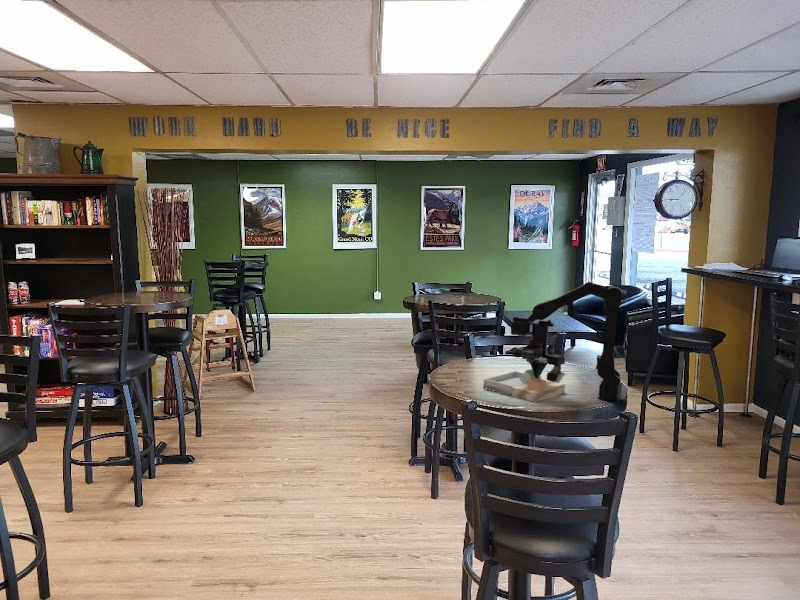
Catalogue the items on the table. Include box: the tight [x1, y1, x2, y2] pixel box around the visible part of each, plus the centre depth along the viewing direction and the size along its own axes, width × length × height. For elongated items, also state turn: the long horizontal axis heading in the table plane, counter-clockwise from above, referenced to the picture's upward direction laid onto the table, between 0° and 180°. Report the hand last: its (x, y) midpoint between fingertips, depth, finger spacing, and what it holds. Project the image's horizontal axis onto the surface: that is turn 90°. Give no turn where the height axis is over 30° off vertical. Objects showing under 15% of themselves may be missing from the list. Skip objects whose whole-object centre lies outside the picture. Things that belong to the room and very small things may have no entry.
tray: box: [482, 370, 543, 397], centre depth 210 cm, size 12×20×4 cm, turn 134°
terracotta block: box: [527, 378, 546, 391], centre depth 198 cm, size 4×4×3 cm
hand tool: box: [545, 364, 562, 382], centre depth 229 cm, size 19×4×5 cm, turn 153°
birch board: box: [512, 378, 566, 403], centre depth 202 cm, size 10×19×3 cm, turn 134°
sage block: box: [520, 368, 535, 384], centre depth 209 cm, size 4×4×3 cm
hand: (536, 379), depth 207 cm, fingers closed
